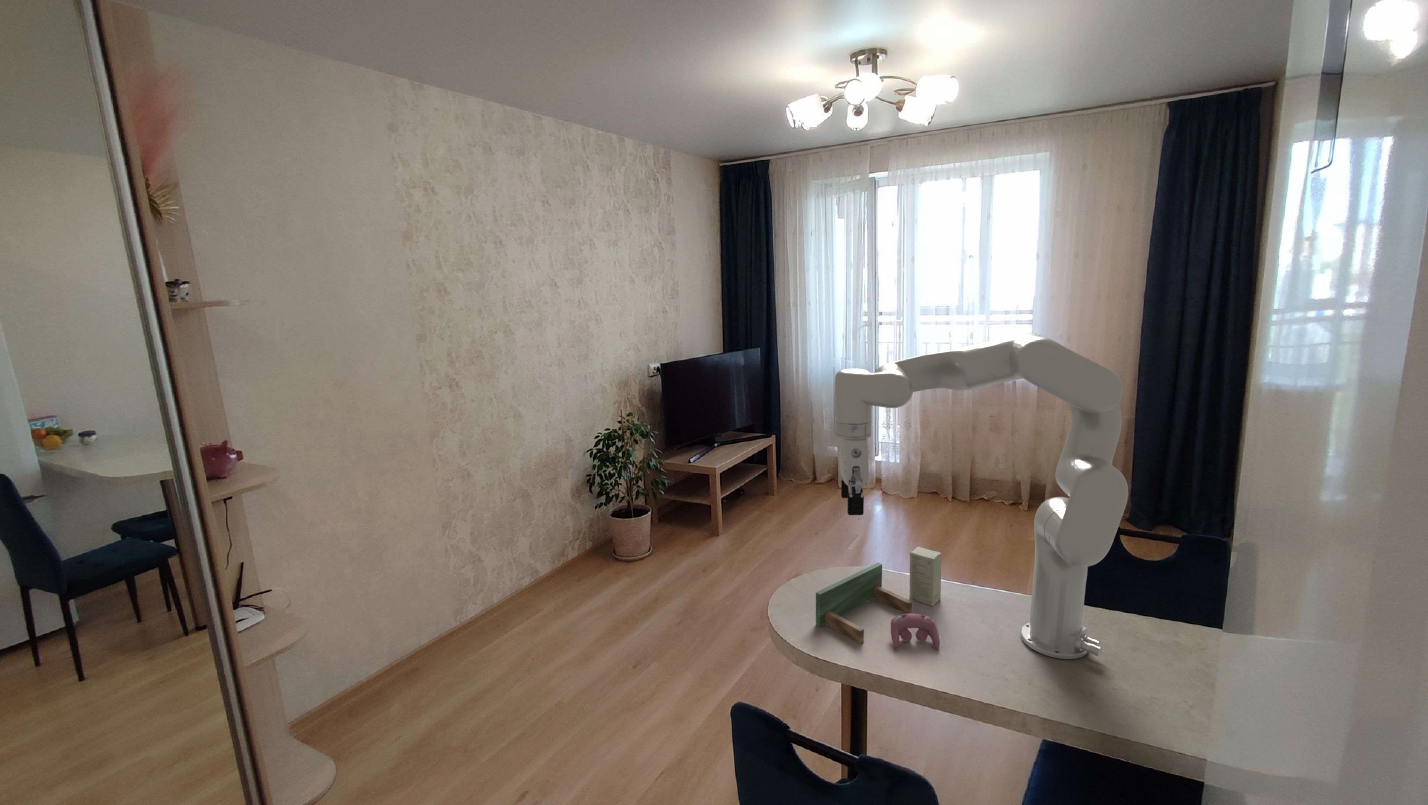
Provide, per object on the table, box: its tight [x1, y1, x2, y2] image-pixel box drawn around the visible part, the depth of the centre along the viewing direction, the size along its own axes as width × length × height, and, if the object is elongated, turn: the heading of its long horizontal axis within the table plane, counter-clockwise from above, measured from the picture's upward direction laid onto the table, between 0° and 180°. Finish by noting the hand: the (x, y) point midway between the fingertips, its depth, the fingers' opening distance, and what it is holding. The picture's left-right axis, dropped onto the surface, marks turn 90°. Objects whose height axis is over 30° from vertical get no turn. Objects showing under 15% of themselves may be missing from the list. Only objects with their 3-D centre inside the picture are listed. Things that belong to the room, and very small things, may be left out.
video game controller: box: [890, 612, 941, 650], centre depth 134 cm, size 10×5×7 cm, turn 84°
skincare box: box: [909, 546, 942, 607], centre depth 150 cm, size 6×4×12 cm
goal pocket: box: [815, 562, 913, 644], centre depth 143 cm, size 11×22×8 cm, turn 128°
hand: (851, 505), depth 134 cm, fingers open, 9 cm apart
